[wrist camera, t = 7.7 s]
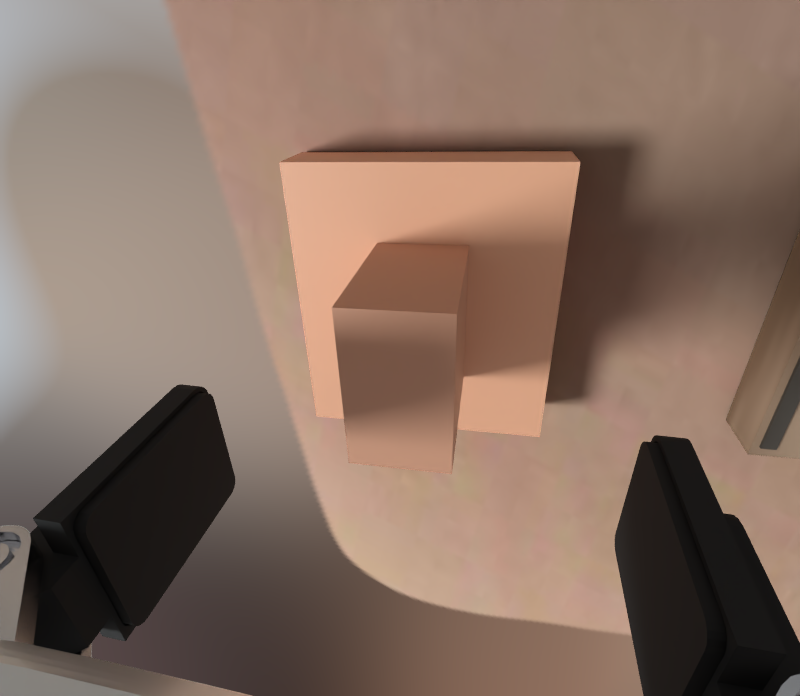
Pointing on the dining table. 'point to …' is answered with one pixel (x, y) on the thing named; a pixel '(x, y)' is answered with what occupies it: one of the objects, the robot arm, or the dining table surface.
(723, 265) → the dining table surface
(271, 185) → the dining table surface
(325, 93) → the dining table surface
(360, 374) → the stub
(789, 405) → the board
